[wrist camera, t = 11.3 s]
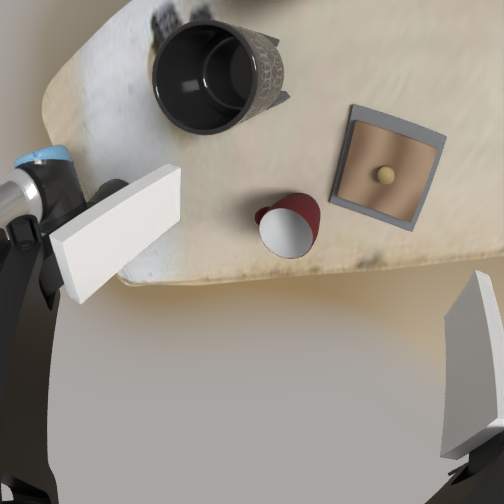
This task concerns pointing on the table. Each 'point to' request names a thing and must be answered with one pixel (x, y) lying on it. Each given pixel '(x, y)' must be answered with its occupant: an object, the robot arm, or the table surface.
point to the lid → (386, 170)
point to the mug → (289, 225)
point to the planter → (216, 76)
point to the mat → (399, 127)
